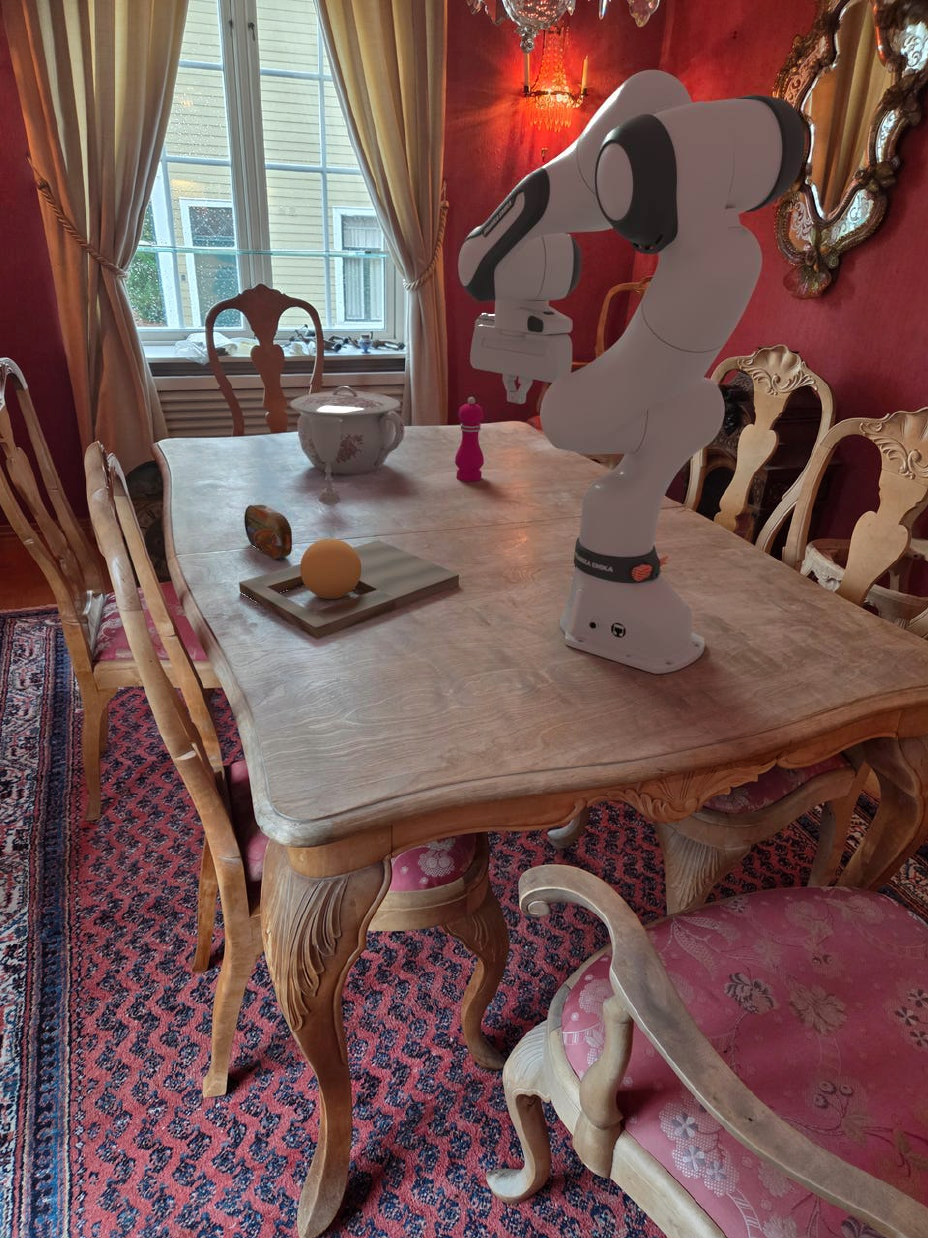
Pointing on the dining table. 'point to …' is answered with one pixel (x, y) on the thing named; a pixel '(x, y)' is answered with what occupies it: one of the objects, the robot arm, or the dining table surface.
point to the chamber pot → (352, 428)
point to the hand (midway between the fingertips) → (516, 402)
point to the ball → (330, 568)
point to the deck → (383, 582)
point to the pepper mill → (470, 443)
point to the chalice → (327, 450)
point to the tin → (268, 531)
